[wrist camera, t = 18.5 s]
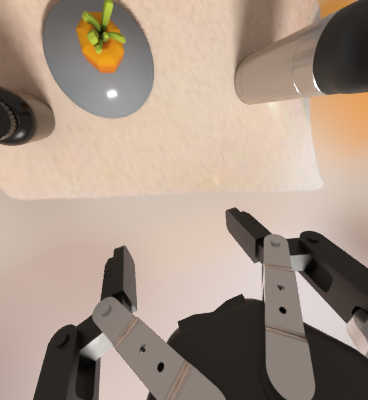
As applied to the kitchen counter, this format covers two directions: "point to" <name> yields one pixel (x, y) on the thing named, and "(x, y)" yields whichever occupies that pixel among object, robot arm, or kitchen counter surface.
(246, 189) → the kitchen counter surface
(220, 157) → the kitchen counter surface
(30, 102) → the supplement bottle
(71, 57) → the slate plate
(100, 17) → the carrot
